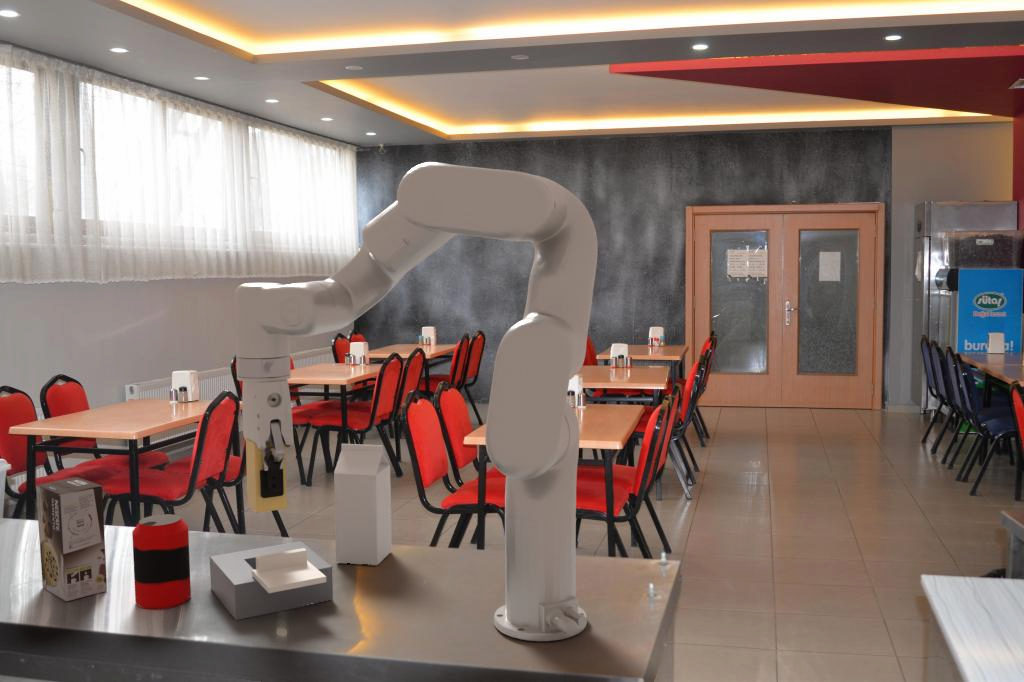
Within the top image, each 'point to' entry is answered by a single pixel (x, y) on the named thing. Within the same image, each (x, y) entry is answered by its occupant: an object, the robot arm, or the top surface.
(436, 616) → the top surface
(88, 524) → the coffee box
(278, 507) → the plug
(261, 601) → the socket housing
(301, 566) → the plate
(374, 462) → the milk carton
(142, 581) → the soda can
